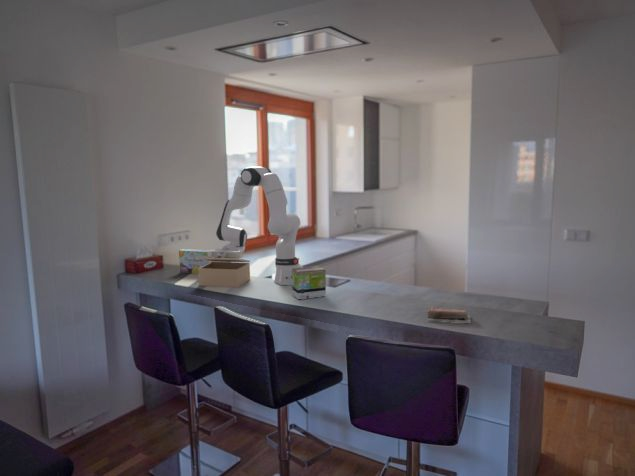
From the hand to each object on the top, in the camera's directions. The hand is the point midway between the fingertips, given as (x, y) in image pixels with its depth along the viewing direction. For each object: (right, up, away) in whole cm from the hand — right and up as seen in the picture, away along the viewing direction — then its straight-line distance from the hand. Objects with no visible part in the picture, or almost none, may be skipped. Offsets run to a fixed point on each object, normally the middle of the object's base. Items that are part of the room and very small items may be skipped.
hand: (219, 256), depth 266 cm
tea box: (+52, -20, -24) cm, 60 cm away
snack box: (-22, -12, +34) cm, 42 cm away
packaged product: (+112, -25, -64) cm, 132 cm away
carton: (+2, -16, +8) cm, 18 cm away
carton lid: (+2, -3, +7) cm, 7 cm away
